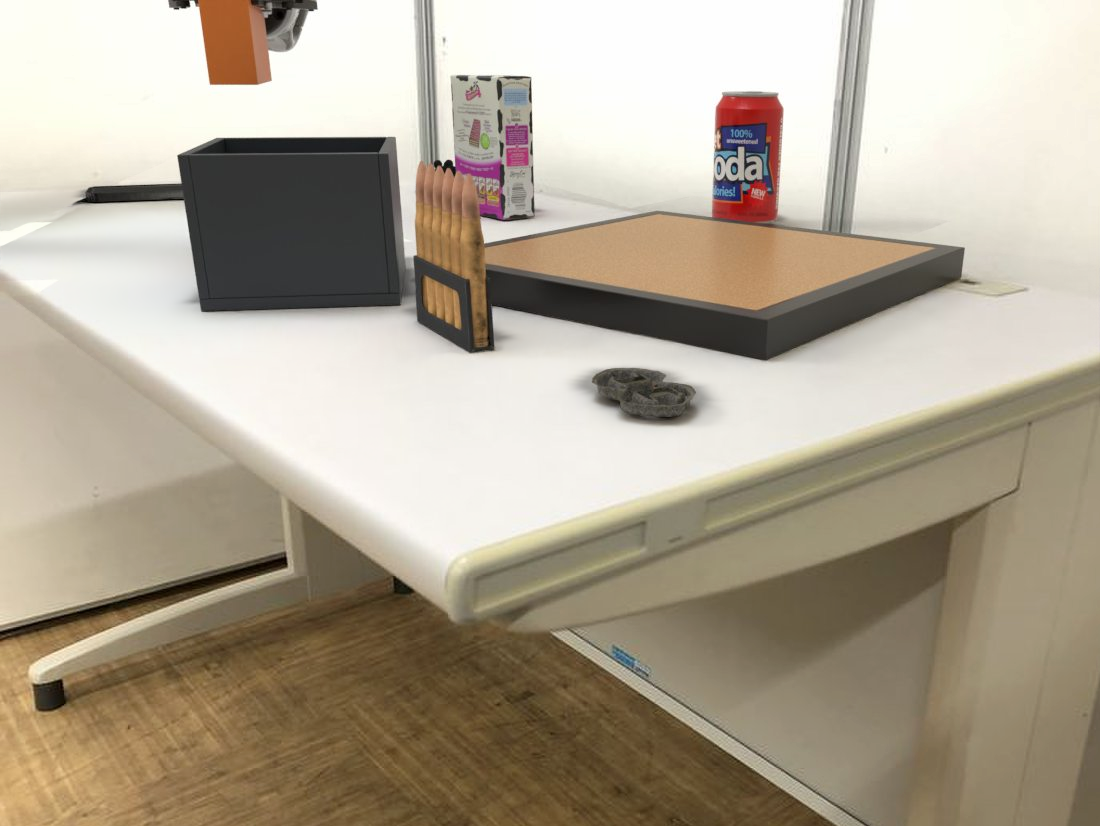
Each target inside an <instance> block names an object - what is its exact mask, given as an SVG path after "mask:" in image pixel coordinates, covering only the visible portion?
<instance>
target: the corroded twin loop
mask: <svg viewBox="0 0 1100 826" xmlns="http://www.w3.org/2000/svg"><path fill="white" fill-rule="evenodd" d="M666 377H667V375H666V373H663V372H661V371H659V370H653V369H649V368H648V369H647V368H640V367H613V368H612V367H611V368H606V369H604V370H601V371H600V372H597V373H596V374H595V375H594V376H593V377H592V379H591V383H592V384H594V385H596V387H597V393H598V394H599V395H601V396H602V397H603V398H609V399H611V400H616V401H617V400H618V401H619V404H620V409H621V410H622V412H623V411H624V412H625V413H627V414H628V415H636V416H641V417H650V418H651V417H653V418H663V417H665V418H666V417H667V418H672V417H677V416H681V414H683V413H684V412H685V411H686V408H688V407H689V406H690V404H691V401H693V398H694V397H695V395H696V394H697V391H696V390H695V388H694V387H693V386H691V385H690V384H685V383H679V382H671V381H670V382H668V381H664V379H665V378H666Z"/></svg>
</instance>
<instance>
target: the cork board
mask: <svg viewBox="0 0 1100 826" xmlns="http://www.w3.org/2000/svg"><path fill="white" fill-rule="evenodd" d="M484 248H485V267H486V276H488V277H490V284H491V300H492V306H496V307H502V308H507V309H512V310H517V311H522V312H527V313H531V314H537V315H541V316H546V317H551V318H556V319H561V320H566V321H570V322H575V323H580V324H585V325H590V326H595V327H601V328H606V329H609V330H616V331H621V332H625V333H631V334H635V335H639V336H645V337H650V338H655V339H658V340H659V339H660V340H664V341H670V342H674V343H680V344H685V345H689V346H694V347H698V348H704V349H708V350H714V351H719V352H724V353H729V354H734V355H739V356H743V357H749V358H753V359H758V360H763V361H767V360H769V359H772V358H774V357H777V356H779V355H781V354H783V353H786V352H788V351H790V350H793V349H795V348H797V347H801V346H803V345H805V344H807V343H809V342H812V341H814V340H817V339H820V338H821V337H824V336H826V335H828V334H831V333H834V332H836V331H838V330H840V329H843V328H845V327H848V326H850V325H852V324H855V323H857V322H859V321H862V320H864V319H867V318H868V317H869V318H870V317H871V316H874V315H876V314H878V313H881V312H884V311H886V310H888V309H890V308H893V307H896V306H898V305H900V304H903V303H905V302H907V301H909V300H913V299H915V298H917V297H919V296H921V295H924V294H926V293H928V292H931V291H933V290H936V289H938V288H940V287H943V286H944V285H948V284H950V283H953V282H955V281H957V280H960V279H962V275H963V267H964V259H965V250H966V247H963V246H957V245H948V244H939V243H931V242H922V241H916V240H915V241H914V240H905V239H898V238H891V237H890V238H888V237H880V236H873V235H866V234H864V235H863V234H857V233H848V232H847V233H846V232H839V231H831V230H824V229H823V230H821V229H815V228H806V227H797V226H789V225H783V224H782V225H780V224H772V223H770V224H765V223H757V222H748V221H740V220H731V219H723V218H715V217H712V216H705V215H698V214H697V215H696V214H691V213H690V214H689V213H681V212H672V211H663V210H653V211H648V212H642V213H637V214H632V215H627V216H622V217H616V218H610V219H605V220H600V221H595V222H590V223H585V224H580V225H579V224H578V225H574V226H569V227H563V228H559V229H553V230H548V231H541V232H537V233H533V234H528V235H527V234H526V235H521V236H516V237H512V238H506V239H500V240H495V241H489V242H484Z"/></svg>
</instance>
